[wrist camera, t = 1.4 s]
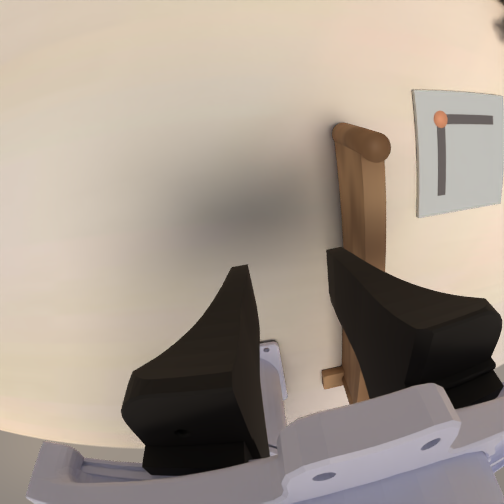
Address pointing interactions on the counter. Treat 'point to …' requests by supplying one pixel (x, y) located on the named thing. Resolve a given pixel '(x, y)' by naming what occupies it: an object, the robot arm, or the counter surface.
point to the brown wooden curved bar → (362, 190)
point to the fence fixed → (347, 374)
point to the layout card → (458, 150)
